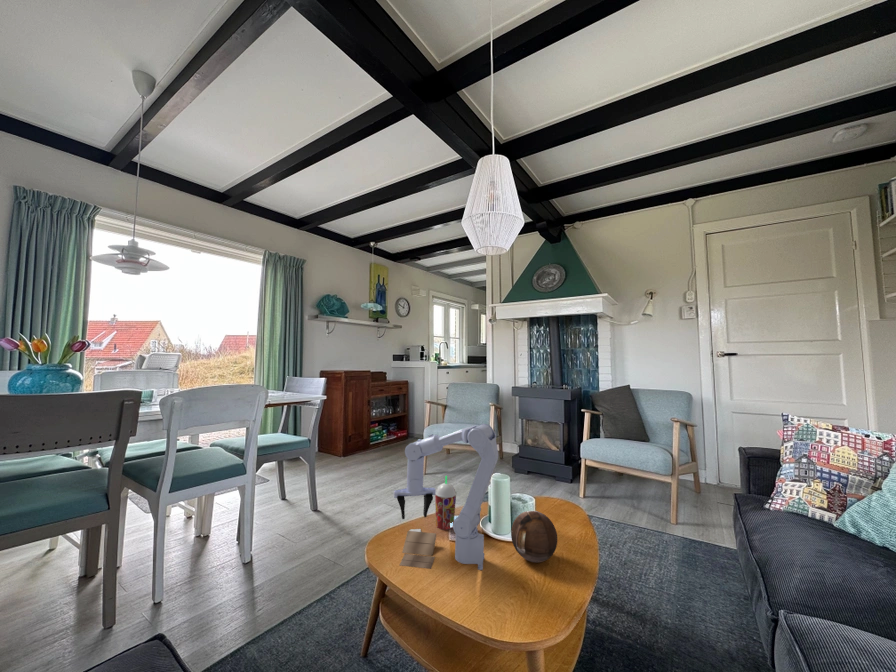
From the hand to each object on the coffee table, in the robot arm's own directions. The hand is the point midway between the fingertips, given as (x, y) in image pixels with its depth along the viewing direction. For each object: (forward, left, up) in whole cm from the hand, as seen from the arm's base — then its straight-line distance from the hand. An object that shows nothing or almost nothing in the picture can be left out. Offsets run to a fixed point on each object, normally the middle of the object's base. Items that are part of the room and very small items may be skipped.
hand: (414, 517), depth 123 cm
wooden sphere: (-41, -1, -10) cm, 42 cm away
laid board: (-4, +10, -10) cm, 15 cm away
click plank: (-3, +2, -8) cm, 9 cm away
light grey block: (+1, -9, -10) cm, 14 cm away
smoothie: (-9, -16, -10) cm, 21 cm away
